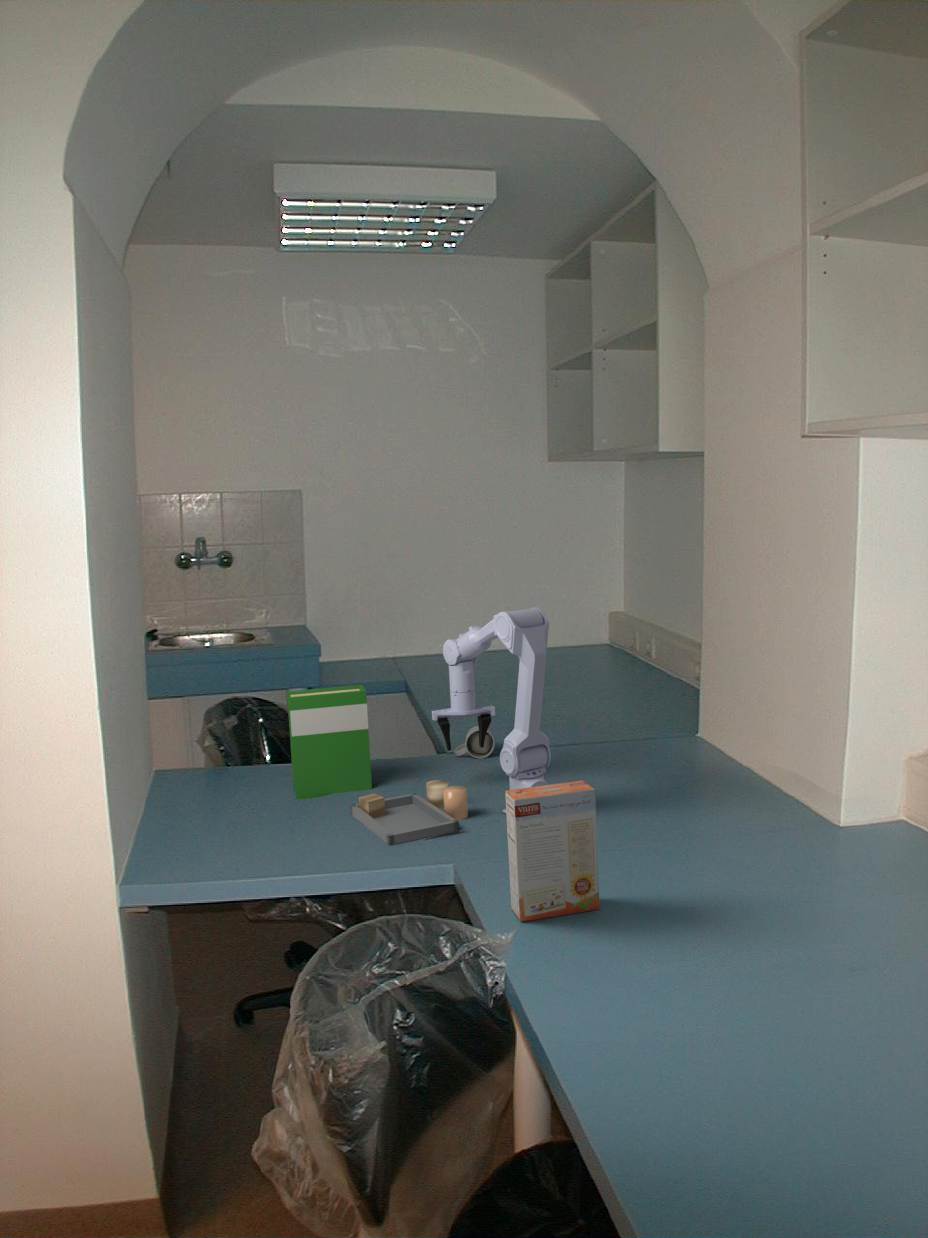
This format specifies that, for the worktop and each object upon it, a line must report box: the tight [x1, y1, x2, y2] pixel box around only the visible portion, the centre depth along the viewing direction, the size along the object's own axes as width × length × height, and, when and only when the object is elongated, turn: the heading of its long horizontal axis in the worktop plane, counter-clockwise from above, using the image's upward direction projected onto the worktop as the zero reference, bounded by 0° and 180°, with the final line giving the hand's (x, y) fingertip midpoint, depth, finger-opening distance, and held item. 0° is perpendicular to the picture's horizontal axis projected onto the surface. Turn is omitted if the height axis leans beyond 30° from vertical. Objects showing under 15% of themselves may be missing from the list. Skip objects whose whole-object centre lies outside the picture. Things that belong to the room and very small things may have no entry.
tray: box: [349, 792, 460, 846], centre depth 214 cm, size 22×15×2 cm
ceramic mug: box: [453, 725, 496, 759], centre depth 265 cm, size 11×8×8 cm
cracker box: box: [504, 780, 600, 923], centre depth 168 cm, size 14×6×21 cm, turn 104°
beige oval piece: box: [425, 779, 450, 810], centre depth 224 cm, size 5×5×6 cm
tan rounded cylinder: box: [443, 785, 469, 821], centre depth 216 cm, size 5×5×6 cm
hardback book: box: [286, 684, 373, 801], centre depth 238 cm, size 18×7×24 cm, turn 104°
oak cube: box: [358, 793, 385, 819], centre depth 219 cm, size 4×4×4 cm
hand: (465, 747), depth 235 cm, fingers open, 7 cm apart
